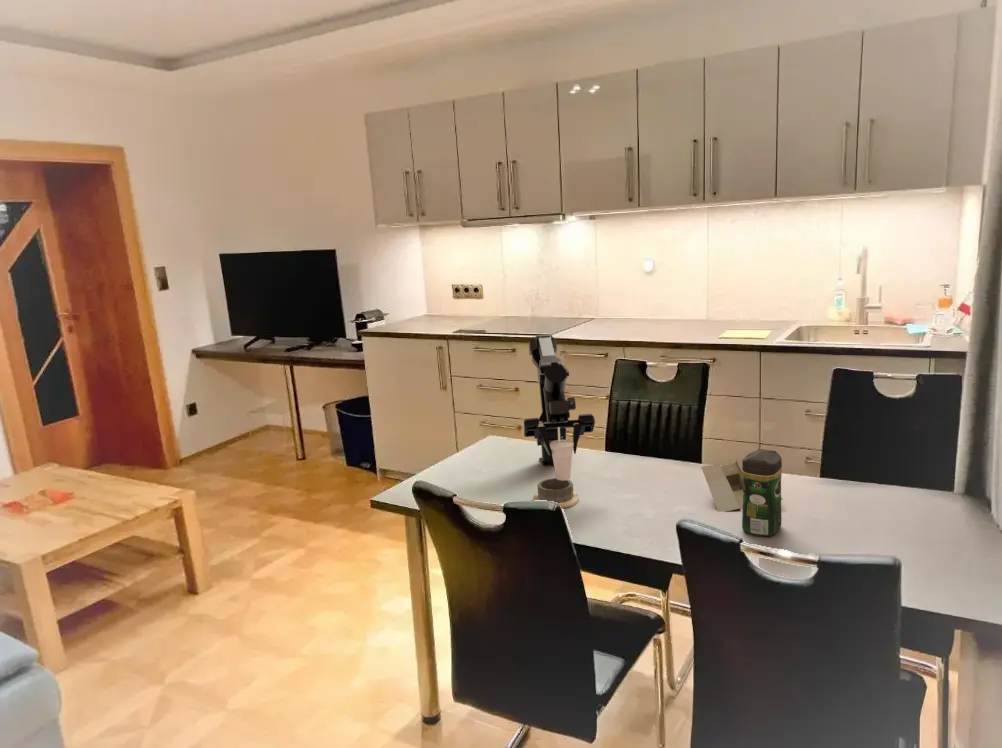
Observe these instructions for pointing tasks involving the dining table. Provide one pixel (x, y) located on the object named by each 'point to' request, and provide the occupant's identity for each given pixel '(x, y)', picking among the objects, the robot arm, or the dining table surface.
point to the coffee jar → (762, 492)
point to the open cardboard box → (725, 485)
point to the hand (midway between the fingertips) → (562, 454)
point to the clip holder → (557, 492)
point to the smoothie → (562, 457)
